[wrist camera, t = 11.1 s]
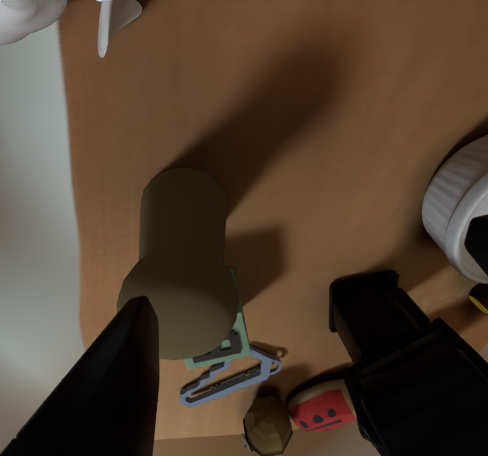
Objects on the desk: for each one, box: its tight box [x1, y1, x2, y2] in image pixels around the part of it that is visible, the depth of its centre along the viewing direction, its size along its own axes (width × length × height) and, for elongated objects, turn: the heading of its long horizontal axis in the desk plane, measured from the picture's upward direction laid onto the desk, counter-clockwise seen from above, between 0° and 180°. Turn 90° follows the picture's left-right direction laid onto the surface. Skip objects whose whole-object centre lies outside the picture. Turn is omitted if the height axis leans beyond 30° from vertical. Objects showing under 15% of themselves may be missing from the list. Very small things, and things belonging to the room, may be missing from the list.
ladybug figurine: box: [287, 379, 356, 432], centre depth 35 cm, size 7×10×4 cm
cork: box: [117, 168, 239, 360], centre depth 16 cm, size 6×6×11 cm
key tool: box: [180, 345, 281, 408], centre depth 31 cm, size 12×1×5 cm
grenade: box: [242, 396, 293, 456], centre depth 35 cm, size 6×6×12 cm
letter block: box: [184, 267, 251, 370], centre depth 23 cm, size 5×5×5 cm
